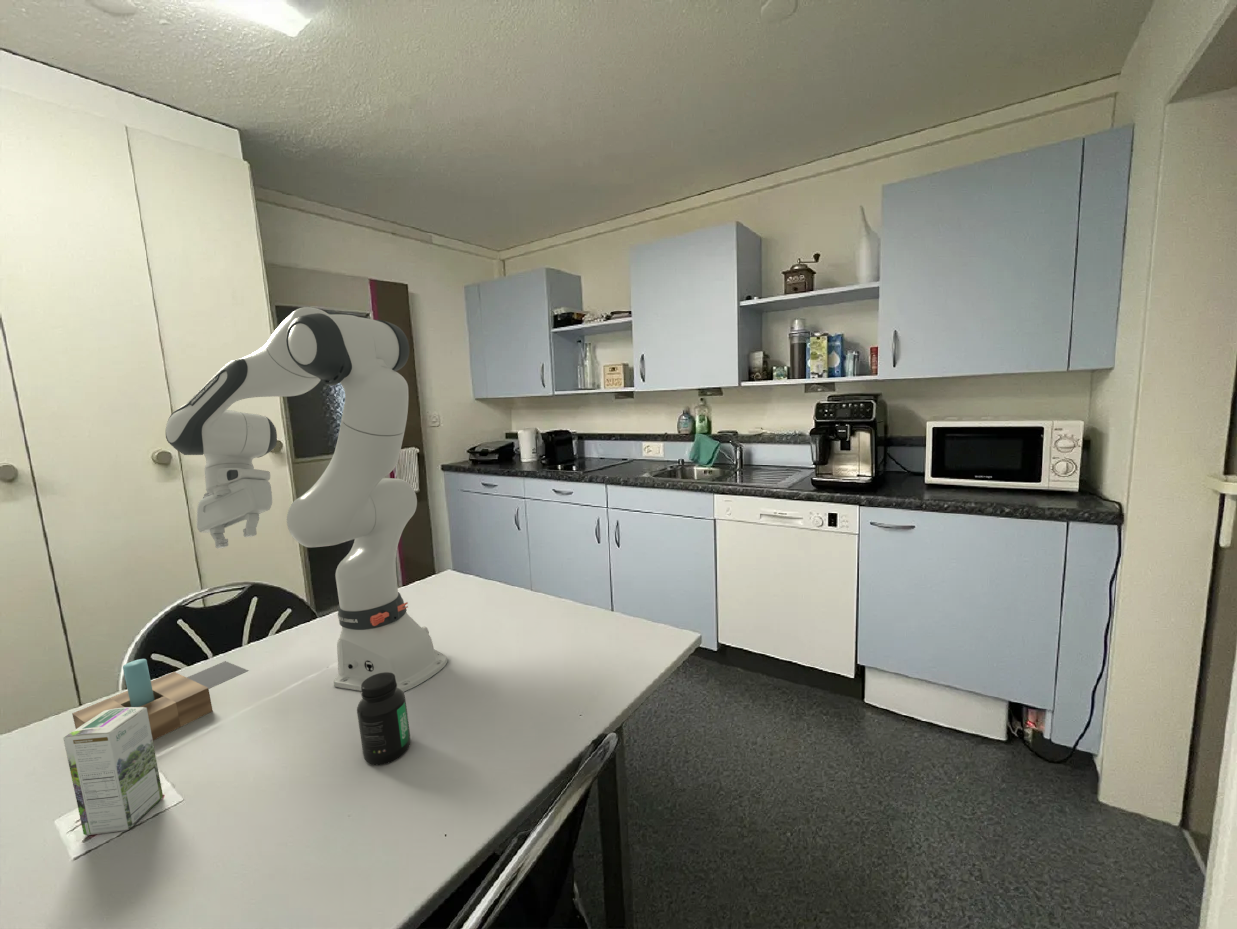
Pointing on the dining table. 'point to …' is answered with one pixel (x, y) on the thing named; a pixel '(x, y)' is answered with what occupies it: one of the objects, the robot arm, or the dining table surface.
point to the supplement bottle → (383, 720)
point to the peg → (138, 682)
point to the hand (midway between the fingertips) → (236, 542)
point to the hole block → (160, 704)
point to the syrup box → (113, 769)
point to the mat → (217, 674)
